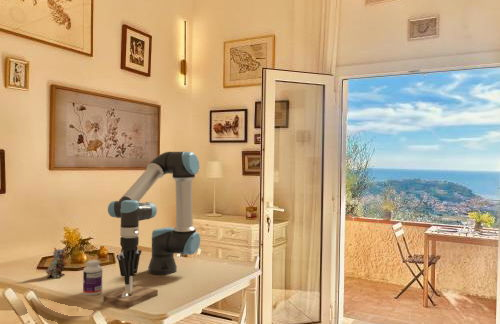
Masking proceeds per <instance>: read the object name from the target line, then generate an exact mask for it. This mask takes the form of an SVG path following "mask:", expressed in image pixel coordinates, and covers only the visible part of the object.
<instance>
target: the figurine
mask: <svg viewBox="0 0 500 324" xmlns="http://www.w3.org/2000/svg"><path fill="white" fill-rule="evenodd" d="M52 254H53V259H52V260H51V262H50V264H49V266H48V268H47V269H46V271H45V272H46V274H47V275H46V276H45V278H46V279H54V280H55V279H61V278H62V277H63V276H65V273H62V272H63V271H64V269H65V267H66V263H67V261H66V255H67V254H66V247H63V248H61V249H57V248H56V247H54V251H53V253H52Z"/></svg>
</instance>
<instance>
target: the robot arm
mask: <svg viewBox="0 0 500 324" xmlns="http://www.w3.org/2000/svg"><path fill="white" fill-rule="evenodd" d="M199 169H200V161H199V158H198V156H197V155H196V154H195V153H194V152H193V151H165V152H163V153H160V154H159V155H157V156H155V158H153V159H152V160H151V161H150V162H149V163H148V164H147V166H146V169H145V170H144V172H143V173H141V175H140V176H139V177H138V178H137V180H136V181H134V182H133V184H132V185H131V186H130V187H129V189H127V190H126V192H125V193H123V195H122V196H121V197H120V198H119V200H114V201H111V202H109V204H108V205H107V213H108V215H109V217H112V218H117V219H120V238H119V239H120V244H119V245H120V247H121V250H120V253H119V254H117V255H116V259H117V261H118V267H119V272H120V276H121V277H123V278H124V286H125V287H124V289H125V291H127V292H132V291H133V285H134V284H133V283H134V277H136V274H137V273H138V269H139V263H140V257H141V254H142V250H141V249H138V246H139V242H140V241H139V225H140V221H145V220H150V219H153V218H155V216H156V215H157V213H158V212H157V211H158V210H157V206H156V205H155V203H153V202H152V201H151V202H146V201H145V202H140V201H141V199H143V197H144V196H145V195H146V194H147V192H149V190H150V189H151V188H152V187H153V186H154V184H155V183H156V182H157V181H158V179H162V177H164V176H165V175H167V174H171V175H172V180H174V181H175V214H176V215H175V219H176V220H175V221H176V222H175V227H161V228H157V229H156V228H155V229H154V230H152V232H151V258H150V262H149V263H148V267H147V268H148V269H147V272H148V273H149V274H152V275H169V274H174V273H176V272H177V271H178V270H177V269H178V266H177V264H176V260H175V259H176V258H175V255H174V254H178V255H184V256H186V255H189V256H190V255H194V254H195V253H196V252H197V251H198V249H199V248H200V245H201V235H200V233H199V232H197V231H196V226H194V225H193V224H194V223H193V222H194V221H193V220H194V218H193V217H194V216H193V210H194V209H193V180H194V179H195V178H196V175H197V174H198V173H199Z"/></svg>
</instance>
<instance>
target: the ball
mask: <svg viewBox="0 0 500 324" xmlns="http://www.w3.org/2000/svg"><path fill="white" fill-rule="evenodd" d="M127 297H129V295H128V294H127V293H123V294H122V295H121V298H127Z"/></svg>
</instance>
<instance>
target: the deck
mask: <svg viewBox="0 0 500 324" xmlns="http://www.w3.org/2000/svg"><path fill="white" fill-rule="evenodd" d="M158 291H159V290H158V289H156V288H152V287H151V288H150V287H145V286H139V285H134V284H133V291H132V292H127V291H125V288H123V289H120V290H117V291H114V292H112V293H109V294H106V295H103V303H104V304H105V303H106V304H109V305H110V304H111V305H114V306H118V307H123V308H127V309H129V308H132V307H134V306H137V305H139V304H141V303H143V302H146V301H149V300H151V299H152V298H154V297H155V298H156V297H157V296H158V295H159V294H158V293H159V292H158ZM123 293H127V294H128V295H129V297H127V298H121V295H122V294H123Z"/></svg>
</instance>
